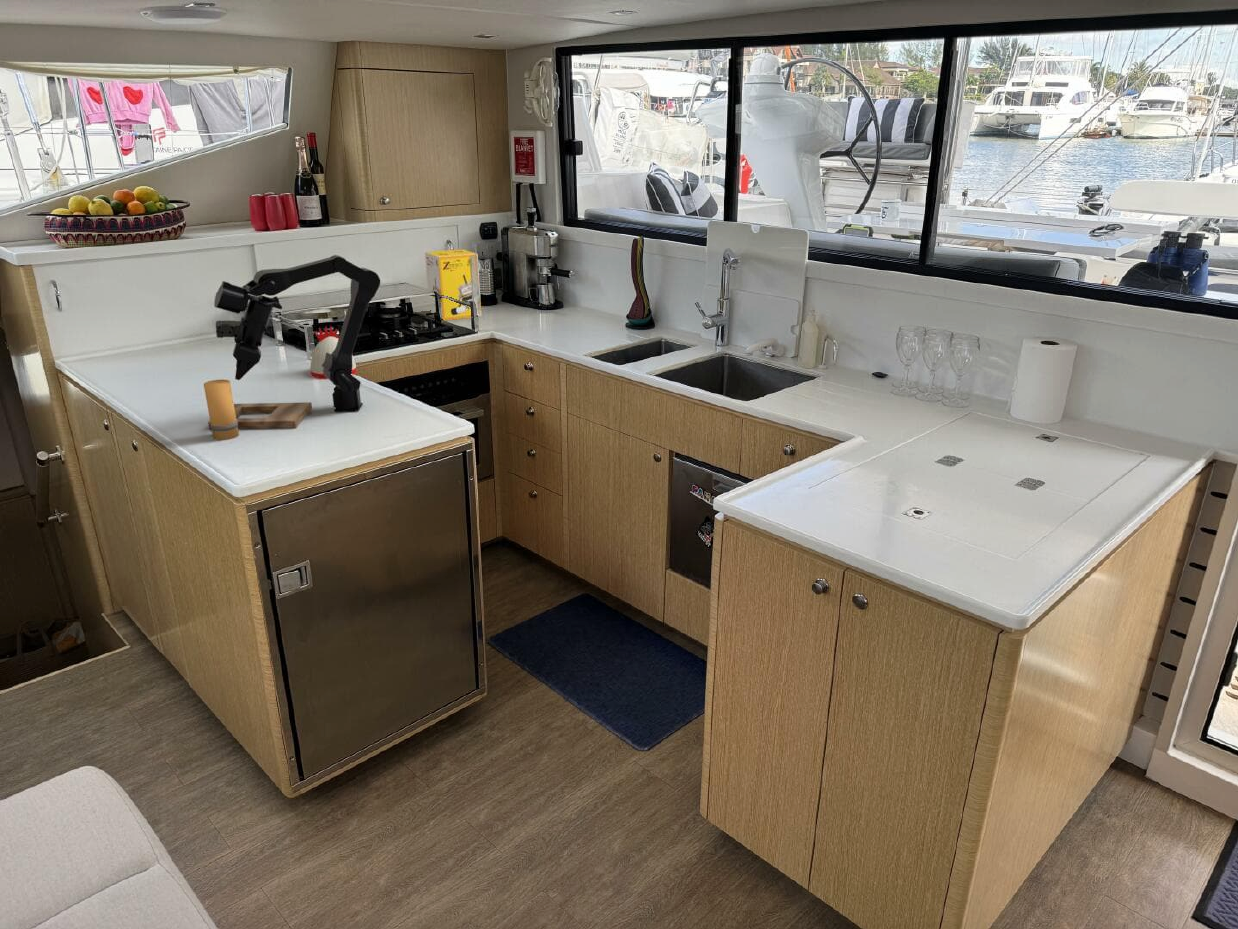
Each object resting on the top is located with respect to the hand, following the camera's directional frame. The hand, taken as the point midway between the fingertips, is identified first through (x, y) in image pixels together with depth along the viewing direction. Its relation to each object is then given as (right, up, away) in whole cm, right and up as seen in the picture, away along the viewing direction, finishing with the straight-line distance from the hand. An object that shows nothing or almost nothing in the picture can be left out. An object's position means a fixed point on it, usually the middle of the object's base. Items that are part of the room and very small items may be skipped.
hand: (237, 373), depth 227 cm
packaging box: (+32, +38, +132) cm, 141 cm away
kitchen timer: (+9, +5, +50) cm, 51 cm away
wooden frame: (+3, -11, +8) cm, 14 cm away
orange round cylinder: (-1, -16, -5) cm, 17 cm away
